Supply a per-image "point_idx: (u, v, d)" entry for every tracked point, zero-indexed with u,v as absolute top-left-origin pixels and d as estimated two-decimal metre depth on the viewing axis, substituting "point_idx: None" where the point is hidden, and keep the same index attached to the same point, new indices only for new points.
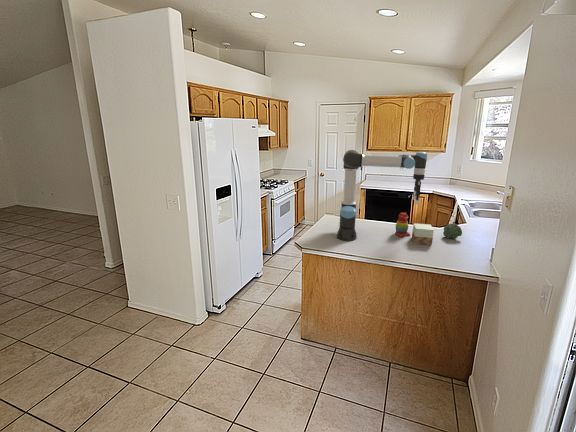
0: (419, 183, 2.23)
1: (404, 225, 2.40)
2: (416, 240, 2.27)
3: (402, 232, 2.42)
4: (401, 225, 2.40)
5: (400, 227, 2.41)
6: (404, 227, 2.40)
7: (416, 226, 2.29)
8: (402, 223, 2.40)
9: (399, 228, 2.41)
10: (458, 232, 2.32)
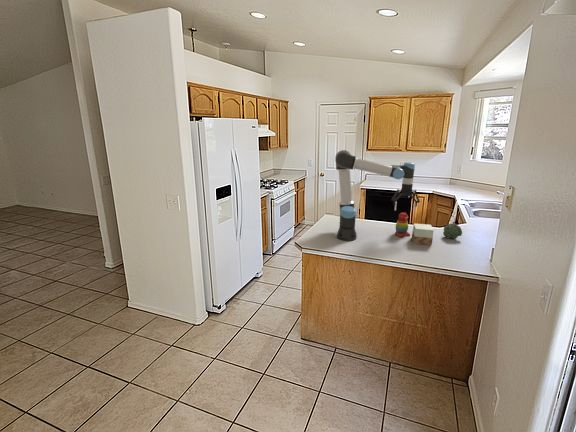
0: (397, 190, 2.37)
1: (404, 225, 2.40)
2: (416, 240, 2.27)
3: (402, 232, 2.42)
4: (401, 225, 2.40)
5: (400, 227, 2.41)
6: (404, 227, 2.40)
7: (416, 226, 2.29)
8: (402, 223, 2.40)
9: (399, 228, 2.41)
10: (458, 232, 2.32)
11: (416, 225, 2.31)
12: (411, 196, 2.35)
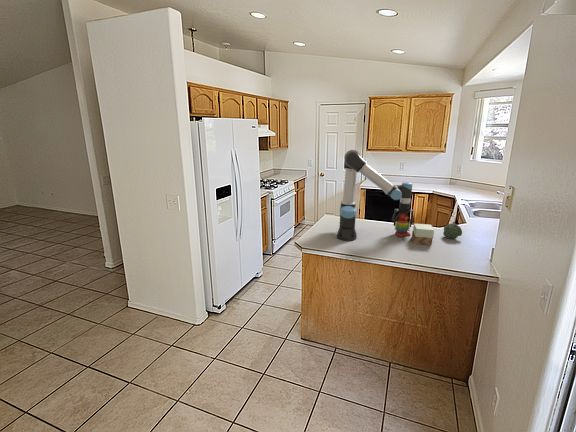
0: None
1: (404, 225, 2.40)
2: (416, 240, 2.27)
3: (402, 232, 2.42)
4: (401, 225, 2.40)
5: (400, 227, 2.41)
6: (404, 227, 2.40)
7: (416, 226, 2.29)
8: (402, 223, 2.40)
9: (399, 228, 2.41)
10: (458, 232, 2.32)
11: (416, 225, 2.31)
12: None
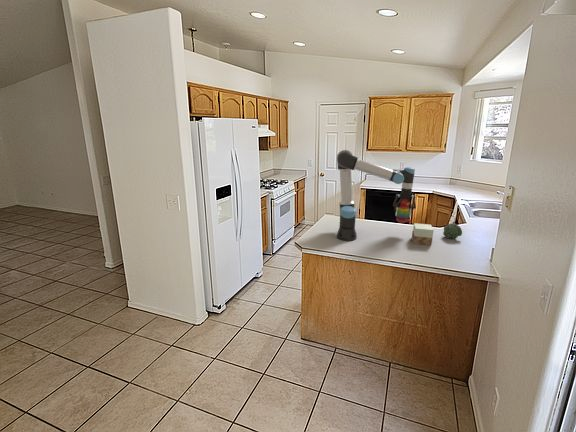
0: (396, 196, 2.38)
1: (405, 211, 2.36)
2: (416, 240, 2.27)
3: (403, 218, 2.38)
4: (402, 211, 2.37)
5: (401, 213, 2.37)
6: (405, 213, 2.37)
7: (416, 226, 2.29)
8: (403, 209, 2.36)
9: (400, 214, 2.38)
10: (458, 232, 2.32)
11: (416, 225, 2.32)
12: (409, 201, 2.36)
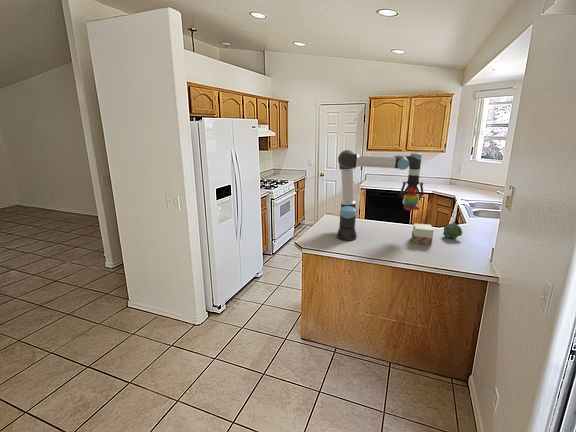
0: (403, 183, 2.31)
1: (413, 198, 2.29)
2: (416, 240, 2.27)
3: (411, 206, 2.31)
4: (410, 198, 2.30)
5: (409, 200, 2.30)
6: (413, 200, 2.30)
7: (416, 226, 2.29)
8: (411, 196, 2.30)
9: (408, 201, 2.31)
10: (458, 232, 2.32)
11: (416, 225, 2.31)
12: (416, 188, 2.29)
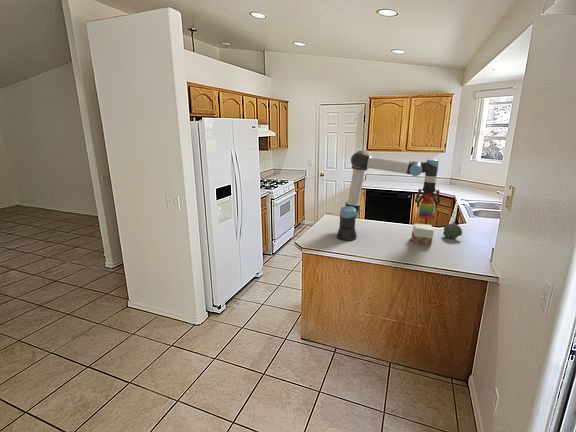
0: (418, 190, 2.22)
1: (429, 206, 2.20)
2: (416, 240, 2.27)
3: (427, 214, 2.22)
4: (426, 206, 2.20)
5: (425, 208, 2.21)
6: (429, 208, 2.20)
7: (416, 226, 2.29)
8: (427, 204, 2.20)
9: (423, 209, 2.22)
10: (458, 232, 2.32)
11: (416, 225, 2.31)
12: None
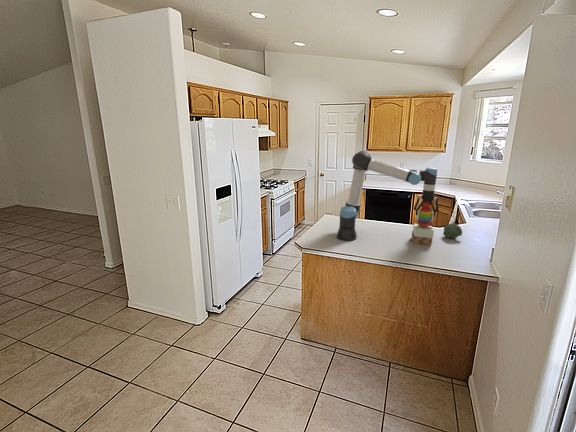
0: (417, 198, 2.23)
1: (428, 214, 2.22)
2: (416, 240, 2.27)
3: (425, 222, 2.24)
4: (424, 214, 2.22)
5: (423, 216, 2.23)
6: (428, 216, 2.22)
7: (416, 226, 2.29)
8: (425, 212, 2.22)
9: (422, 217, 2.23)
10: (458, 232, 2.32)
11: (416, 225, 2.31)
12: (431, 204, 2.22)
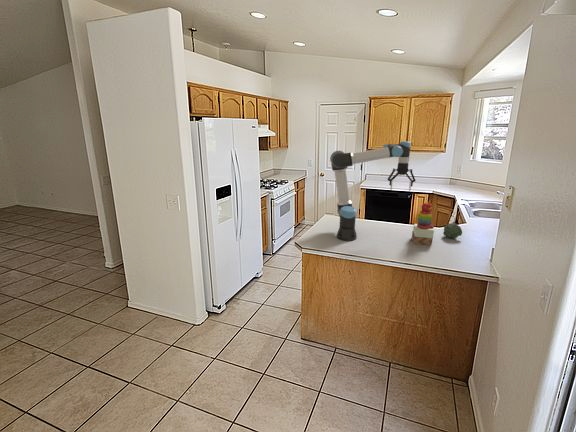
0: (393, 169, 2.37)
1: (427, 216, 2.22)
2: (416, 240, 2.27)
3: (425, 224, 2.24)
4: (424, 216, 2.23)
5: (423, 219, 2.23)
6: (427, 219, 2.22)
7: (416, 226, 2.29)
8: (425, 214, 2.22)
9: (422, 220, 2.24)
10: (458, 232, 2.33)
11: (416, 225, 2.31)
12: (407, 175, 2.35)
